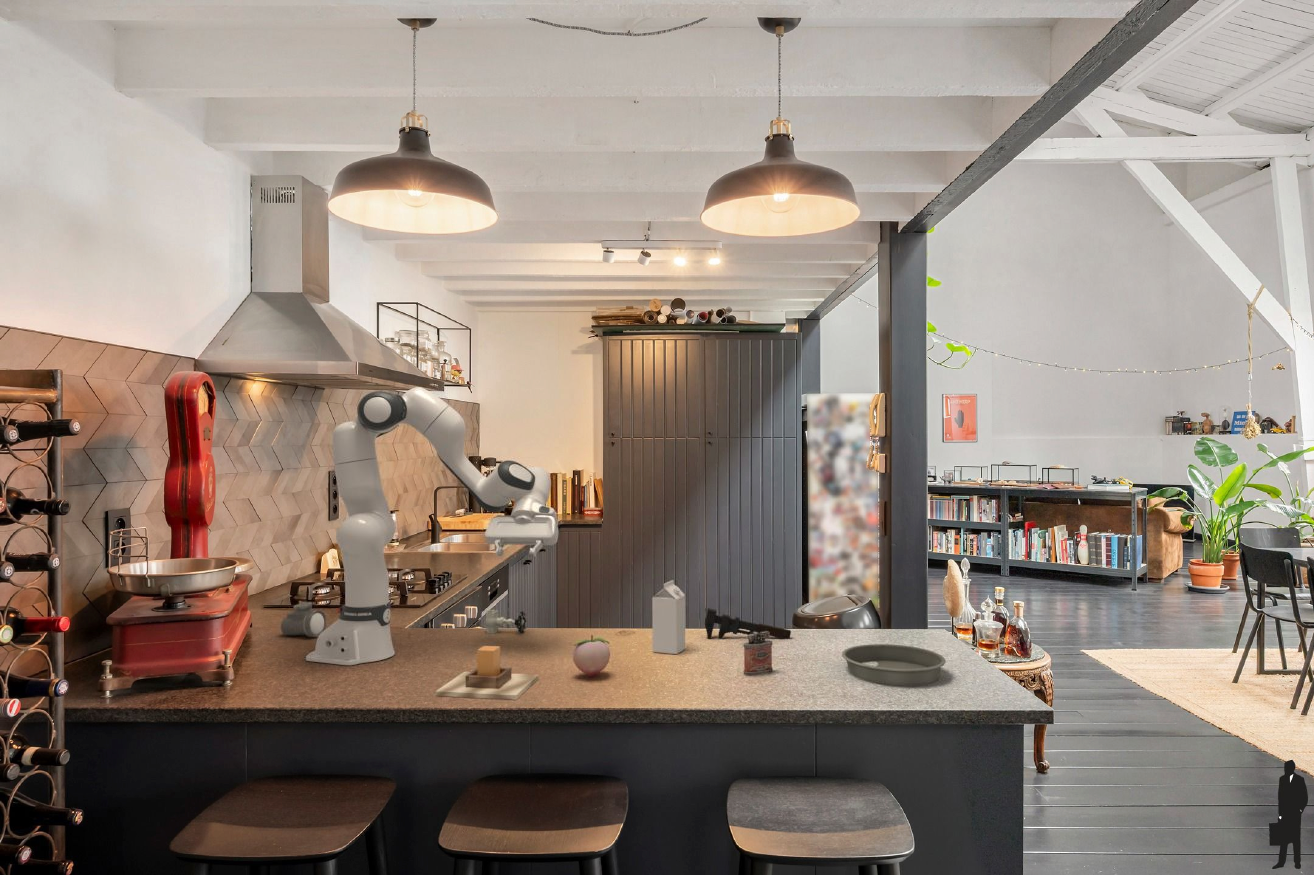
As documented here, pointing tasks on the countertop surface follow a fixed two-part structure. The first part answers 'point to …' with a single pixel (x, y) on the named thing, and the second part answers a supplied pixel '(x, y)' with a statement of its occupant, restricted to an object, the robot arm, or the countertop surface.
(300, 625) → the pipe fitting
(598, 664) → the decorative fruit
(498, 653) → the orange cap block
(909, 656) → the cake pan
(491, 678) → the socket board
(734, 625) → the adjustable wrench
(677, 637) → the milk carton
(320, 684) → the countertop surface
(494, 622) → the valve
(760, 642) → the lighter
